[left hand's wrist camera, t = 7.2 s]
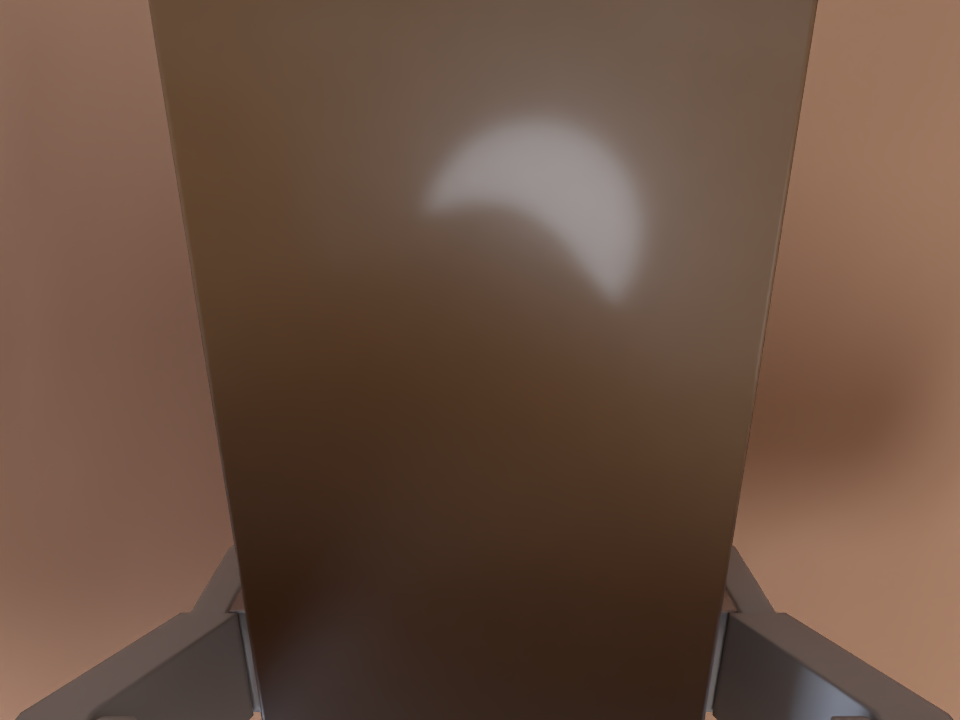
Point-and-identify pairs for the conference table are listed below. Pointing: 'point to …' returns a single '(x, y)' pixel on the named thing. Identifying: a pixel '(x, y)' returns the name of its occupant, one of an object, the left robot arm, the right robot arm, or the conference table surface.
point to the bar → (483, 335)
